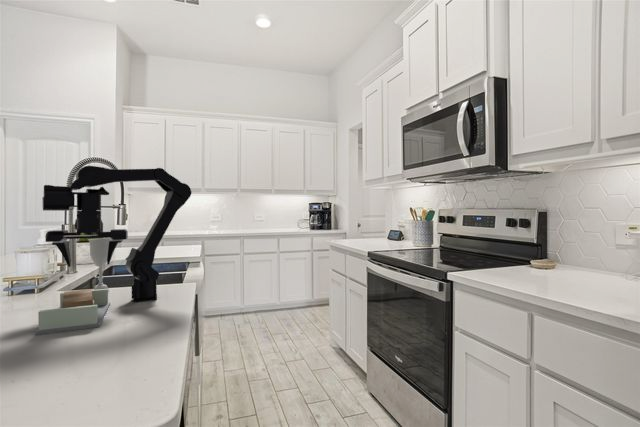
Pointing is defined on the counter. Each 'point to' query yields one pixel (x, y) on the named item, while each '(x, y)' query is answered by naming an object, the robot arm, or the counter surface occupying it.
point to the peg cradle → (74, 315)
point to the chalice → (99, 257)
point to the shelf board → (77, 298)
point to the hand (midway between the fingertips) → (89, 265)
